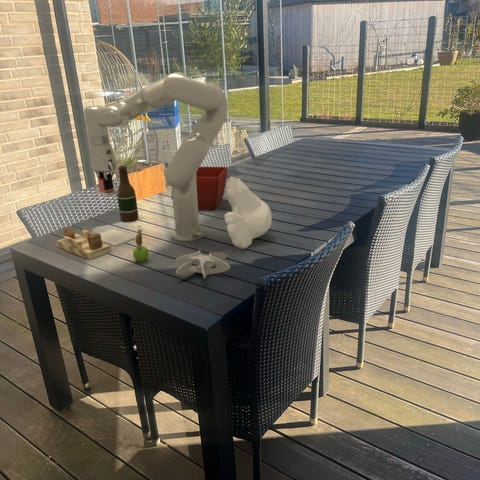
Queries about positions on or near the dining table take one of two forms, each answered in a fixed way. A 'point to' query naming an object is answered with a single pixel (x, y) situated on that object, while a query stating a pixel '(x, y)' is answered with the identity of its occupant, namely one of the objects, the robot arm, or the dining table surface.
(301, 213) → the dining table surface
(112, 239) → the mat
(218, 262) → the sculpture
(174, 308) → the dining table surface
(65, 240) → the body
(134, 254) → the snail figurine
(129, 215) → the beer bottle
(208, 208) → the plant pot
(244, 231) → the white bear figurine
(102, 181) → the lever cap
